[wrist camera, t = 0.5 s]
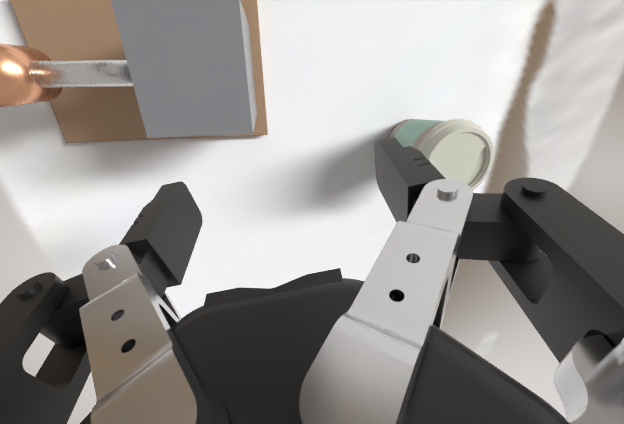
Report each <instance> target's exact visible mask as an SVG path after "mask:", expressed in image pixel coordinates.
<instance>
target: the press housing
mask: <svg viewBox="0 0 624 424" xmlns="http://www.w3.org/2000/svg"><path fill="white" fill-rule="evenodd" d="M10 3H11V5H12V8H13V10H14V13H15V15H16V18H17V20H18V23H19V25H20V28H21V30H22V33H23V35H24V38H25V41H26V43H27V46H28V47H31V48H34V49H37V50H39V51H41V52H42V53H44V54H45V55H47V56H48V57H49V58H50V59H51V60H52V61H65V60H127V64H128V67H129V71H130V75H131V79H132V82H133V86H123V87H69V88H62V91H61V93H60V95H59V96H58V97H57V98H55V99H53V100H51V101H50V104H51V106H52V109H53V111H54V114H55V116H56V119H57V121H58V124H59V126H60V129H61V131H62V134H63V136H64V139H65V142H66V143H75V142H99V141H124V140H148V139H173V138H197V137H222V136H246V135H268V133H267V121H266V108H265V96H264V84H263V71H262V59H261V47H260V34H259V22H258V10H257V0H10Z"/></svg>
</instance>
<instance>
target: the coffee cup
mask: <svg viewBox="0 0 624 424" xmlns="http://www.w3.org/2000/svg"><path fill="white" fill-rule="evenodd" d="M391 137H395V138H396V139H397V140H398V142H399V143H400V144H401V145H402V146H403V147H407V146H411V147H413V148H415V149H417V150H420V151H421V152H422V153H423V155H424V156H425V157H426V158H427V159H428V160H429V161H430V162H431V164H433V165H434V166H435V168H436V169H437V170H438V171H439V172H440V173H441V174H442V175H443V176H444V177H445V178H446V179H452V180H457V181H461V182H463V183H465V184H467V185H468V186H470V187H471V189H472V190H474V189H475V188H476V187H478V186H479V185H480V184H481V183H482V181H483V180H484V179H485V178H486V176H487V175H488V173H489V171H490V169H491V166H492V163H493V159H494V148H493V144H492V141H491V139H490V137H489V136H488V135H487V134H486V133H485V131H484V130H483V129H482V128H481V127H480V126H478V125H477V124H475V123H473V122H471V121H469V120H465V119H452V120H448V121H437V120H420V119H408V120H405V121H402V122H401V123H399V124H398V125H397V126H396V127H395V128H394V129H393V130H392V132H391V134H390V136H389V138H391Z"/></svg>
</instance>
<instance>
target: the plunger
mask: <svg viewBox="0 0 624 424" xmlns="http://www.w3.org/2000/svg"><path fill="white" fill-rule="evenodd" d="M123 86H133V82H132V79H131V75H130V71H129V67H128V64H127V60H65V61H52V60H51V59H50V58H49V57H48V56H47V55H45V54H44V53H42V52H41V51H39V50H37V49H34V48H31V47H26V46H17V45H9V44H0V107H4V106H13V105H21V104H29V103H37V102H45V101H51V100H53V99H55V98H57V97H58V96H59V95H60V93H61V91H62V88H69V87H123Z"/></svg>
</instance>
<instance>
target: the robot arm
mask: <svg viewBox="0 0 624 424" xmlns="http://www.w3.org/2000/svg"><path fill="white" fill-rule="evenodd" d="M375 163H376V178H377V183H378V187H379V189H380V191H381V193H382V195H383V197H384V199H385V201H386V203H387V205H388V207H389V209H390V210H391V212H392V214H393V216H394V218H395V220H396V222H397V224H396V225H395V227H394V229H393V231H392V233H391V235H390V236H389V238H388V240H387V242H386V244H385V245H384V247H383V249H382V251H381V253H380V255H379V256H378V258H377V260H376V262H375V264H374V266H373V267H372V269H371V271H370V273H369V275H368V277H367V278H366V280H365V282H364V281H360V280H355V279H346V278H342V275H341V271H340V268H339V269H333V270H328V271H323V272H318V273H313V274H307V275H305V276H302V277H300V278H297V279H295V280H293V281H290V282H288V283H285V284H283V285H281V286H278V287H276V288H272V289H263V288H235V289H230V290H225V291H219V292H214V293H209V294H207V295H206V299H205V303H204V306H202V307H200V308H198V309H196V310H194V311H192V312H191V313H189V314H187V315H186V316H185V317H183V318H181V316H180V315H179V313H178V311H177V310H176V308H175V306H174V305H173V303H172V301H171V299H170V298H169V296H168V295H167V294H166V293H165V290H166V288H167V287H171V286H176V285H181V283H182V280H183V277H184V274H185V271H186V269H187V266H188V263H189V260H190V257H191V254H192V251H193V249H194V246H195V243H196V240H197V237H198V234H199V232H200V229H201V226H202V215H201V212H200V210H199V208H198V206H197V205H196V203H195V201H194V199H193V197H192V195H191V193H190V192H189V190H188V188H187V186H186V185H185V184H184V183H183V182H176V183H171V184H166V185H163V186H162V187H161V188H160V190H159V191H158V193H157V194H156V196H155V197H154V199H153V200H152V201H151V202H150V203H148V204H147V205H146V206H145V207H144V208H143V209H142V211H141V212H140V214H139V215H138V218H136V220H135V221H134V225H132V226H131V227H130V229H129V231H128V232H127V234H126V235H125V237H124V238H123V240H122V241H121V243H120V244H119V245H115V246H111V247H109V248H106V249H104V250H102V251H101V252H99V253H97V254H96V255H95V256H93V257H92V258H91V259H90V260H89V261H88V262H87V263H86V265H85V266H84V268H83V271H82V274H80V275H78V276H75V277H73V278H70V279H68V280H66V281H62V280H61V279H60V278H59V277H57V276H56V275H55V274H54V273H50V272H49V273H43V274H39V275H37V276H34V277H32V278H30V279H28V280H27V281H25V282H23V283H22V284H21V285H19V286H18V287H16V288H15V289H14V290H13V291H12V292H11V293H10V294H9V295H8V296H7V297H6V298H5V299H4V300H3V301H2V303H1V304H0V424H67V422H68V419H69V417H70V415H71V413H72V411H73V408H74V406H75V404H76V402H77V399H78V398H79V396H80V393H81V391H82V389H83V387H84V385H85V383H86V380H87V378H88V376H89V374H90V372H92V377H93V382H94V387H95V392H96V397H97V403H96V405H95V406H94V408H93V409H92V412H90V413H89V414H88V416H87V417H86V418H85V419H84V420H83V421H82V422H81V423H80V424H624V234H623V233H621V232H620V231H619V230H617V229H616V228H614V227H613V226H612V225H610V224H609V223H607V222H606V221H605V220H604V219H602V218H601V217H600V216H598V215H597V214H596V213H594V212H593V211H592V210H590V209H589V208H588V207H586V206H585V205H584V204H582V203H581V202H580V201H578V200H577V199H576V198H574V197H573V196H572V195H570V194H569V193H568V192H566V191H565V190H564V189H562V188H561V187H559V186H558V185H556V184H554V183H552V182H549V181H546V180H542V179H537V178H518V179H514V180H511V181H509V182H508V183H507V184H506V185H505V187H504V191H503V194H479V193H473V190H472V189H471V187H470V186H468V185H467V184H465V183H463V182H461V181H457V180H452V179H446V178H445V177H444V176H443V175H442V174H441V173H440V172H439V171H438V170H437V169H436V168H435V166H434V165H433V164H431V162H430V161H429V160H428V159H427V158H426V157H425V156H424V155H423V153H422V152H421V151H420V150H417V149H415V148H413V147H411V146H407V147H403V146H402V145H401V144H400V143H399V142H398V140H397V139H396V138H395V137H391V138H386V139H382V140H377V141H375ZM545 254H546V255H547V256H546V255H545ZM460 259H474V260H488V261H489V263H490V264H491V265H492V267H493V268H494V270H495V271H496V272H497V274H498V275H499V277H500V278H501V280H502V281H503V283H504V284H505V285H506V287H507V288H508V290H509V291H510V293H511V294H512V295H513V297H514V298H515V300H516V301H517V303H518V304H519V305H520V307H521V308H522V310H523V311H524V312H525V314H526V315H527V317H528V318H529V320H530V321H531V323H532V324H533V326H534V327H535V328H536V330H537V331H538V333H539V334H540V335H541V337H542V338H543V340H544V341H545V343H546V344H547V345H548V347H549V348H550V350H551V351H552V353H553V354H554V356H555V357H556V358H557V360H558V361H559V363H560V364H559V366H558V367H557V368H556V371H555V373H554V383H555V387H556V390H557V392H558V394H559V396H560V398H561V400H562V402H563V405H564V408H565V412H566V419H565V418H564V417H563V416H562V415H561V414H560V413H559V412H558V411H557V410H555V409H554V408H553V407H552V406H551V405H550V404H548V403H547V402H546V401H544V400H543V399H542V398H540V397H539V396H538V395H536V394H535V393H533V392H532V391H530V390H529V389H527V388H526V387H525V386H523V385H522V384H520V383H519V382H517V381H516V380H514V379H513V378H511V377H510V376H508V375H507V374H505V373H504V372H502V371H501V370H500V369H498V368H497V367H495V366H494V365H492V364H491V363H489V362H488V361H486V360H485V359H483V358H482V357H481V356H479V355H478V354H476V353H475V352H473V351H472V350H470V349H469V348H467V347H466V346H464V345H463V344H461V343H460V342H458V341H457V340H455V339H454V338H453V337H451V336H450V335H448V334H447V333H445V332H444V331H442V330H441V327H442V323H443V319H444V315H445V311H446V307H447V303H448V299H449V296H450V292H451V289H452V286H453V282H454V279H455V275H456V272H457V268H458V265H459V261H460ZM39 332H40V333H41V334H42V335H44V336H45V337H47V338H48V339H50V340H52V341H53V342H54V343H55V345H54V347H53V348H52V350H51V351H50V353H49V355H48V356H47V358H46V360H45V361H44V363H43V365H42V367H41V368H40V370H39V371H38V373H37V375H36V377H34V376H32V375H30V374H28V373H27V372H25V370H24V369H23V366H22V361H23V357H24V355H25V353H26V351H27V350H28V349H29V347H30V346H31V344H32V343H33V341H34V340H35V338H36V337H37V335H38V334H39Z"/></svg>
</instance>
